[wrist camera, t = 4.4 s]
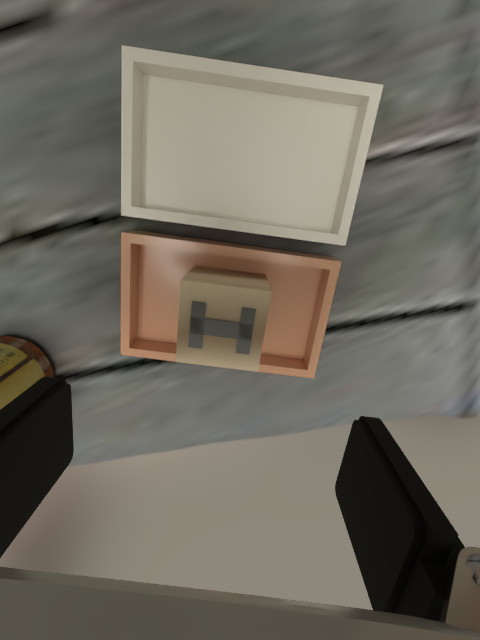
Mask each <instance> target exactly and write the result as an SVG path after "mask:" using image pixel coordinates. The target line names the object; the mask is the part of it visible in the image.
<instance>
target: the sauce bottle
mask: <svg viewBox="0 0 480 640" xmlns="http://www.w3.org/2000/svg"><path fill="white" fill-rule="evenodd" d="M44 376H48V377H54V370H53V369H52V366H51V363H50V362H49V360H48V359H47V357H46V355H45V354H44V353H43V351H42V350H41V349H40V348H39V347H38V346H36V345H35V344H33V343H31V342H29V341H27V340H24V339H21V338H19V337H12V336H2V337H0V410H1V409H2V408H3V407H4V406H6V405H7V404H8V403H10V402H11V401H12V400H14V399H15V398H16V397H18V396H19V395H20V394H21V393H23V392H24V391H25V390H27V389H28V388H29V387H31V386H32V385H33V384H35V383H36V382H37V381H38V380H40V379H41V378H43V377H44Z"/></svg>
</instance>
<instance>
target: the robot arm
mask: <svg viewBox="0 0 480 640" xmlns="http://www.w3.org/2000/svg"><path fill="white" fill-rule="evenodd" d="M73 451H74V450H73V426H72V402H71V386H70V384H67V383H66V381H65V379H63V378H56V377H48V376H44V377H43V378H41V379H40V380H38V381H37V382H36V383H35V384H33V385H32V386H31V387H29V388H28V389H27V390H25V391H24V392H23V393H21V394H20V395H19V396H18V397H16V398H15V399H14V400H12V401H11V402H10V403H8V404H7V405H6V406H4V407H3V408H2V409H1V410H0V558H1V556H2V555H3V553H4V552H5V551H6V549H7V548H8V547H9V545H10V544H11V542H12V541H13V540H14V538H15V537H16V536H17V534H18V533H19V532H20V530H21V529H22V527H23V526H24V525H25V523H26V522H27V521H28V519H29V518H30V517H31V515H32V514H33V513H34V511H35V510H36V508H37V507H38V506H39V504H40V503H41V501H42V500H43V499H44V497H45V496H46V495H47V493H48V492H49V491H50V489H51V488H52V487H53V485H54V484H55V482H56V481H57V480H58V478H59V477H60V476H61V474H62V473H63V472H64V470H65V469H66V468H67V466H68V465H69V463H70V462H71V459H72V457H73ZM335 490H336V497H337V500H338V503H339V506H340V509H341V512H342V515H343V518H344V521H345V524H346V528H347V531H348V534H349V537H350V540H351V543H352V546H353V549H354V552H355V555H356V558H357V562H358V565H359V568H360V571H361V574H362V577H363V580H364V583H365V586H366V589H367V592H368V596H369V599H370V602H371V605H372V608H373V610H366V609H359V608H352V607H345V606H337V605H329V604H321V603H313V602H304V601H296V600H288V599H279V598H271V597H263V596H254V595H246V594H238V593H229V592H220V591H212V590H204V589H194V588H186V587H178V586H169V585H159V584H151V583H142V582H133V581H125V580H116V579H107V578H98V577H88V576H80V575H70V574H61V573H51V572H43V571H33V570H24V569H14V568H5V567H0V640H480V548H477V547H466V548H465V547H464V545H463V544H462V542H461V541H460V539H459V538H458V534H457V532H456V531H455V529H454V528H453V526H452V525H451V524H450V522H449V520H448V519H447V517H446V516H445V514H444V513H443V511H442V510H441V508H440V507H439V505H438V504H437V502H436V501H435V499H434V498H433V496H432V495H431V493H430V492H429V490H428V489H427V488H426V486H425V485H424V483H423V482H422V480H421V479H420V477H419V476H418V474H417V473H416V471H415V470H414V469H413V467H412V465H411V464H410V462H409V461H408V459H407V458H406V456H405V455H404V453H403V452H402V450H401V449H400V447H399V446H398V444H397V443H396V442H395V440H394V439H393V437H392V436H391V434H390V432H389V431H388V430H387V428H386V427H385V425H384V424H383V422H382V421H381V420H380V419H379V418H373V417H365V416H361V417H360V418H359V420H354V422H353V424H352V428H351V431H350V435H349V438H348V442H347V446H346V449H345V452H344V457H343V460H342V463H341V467H340V470H339V474H338V477H337V481H336V485H335Z"/></svg>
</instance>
